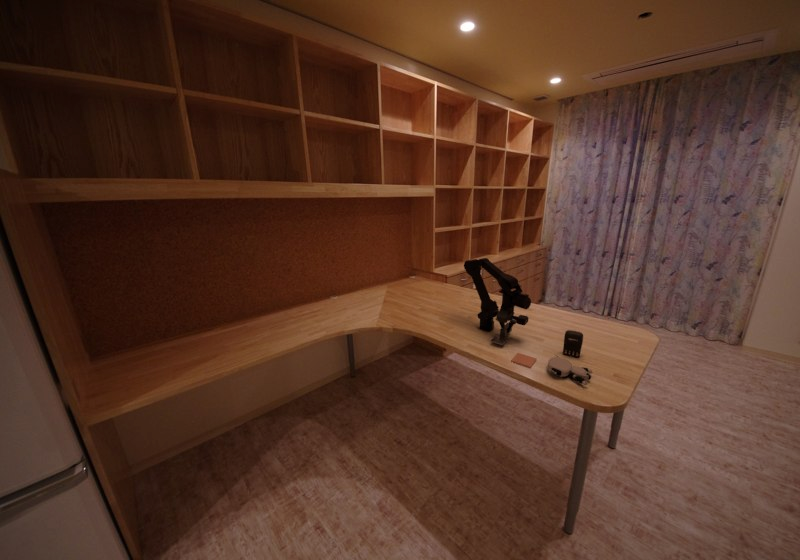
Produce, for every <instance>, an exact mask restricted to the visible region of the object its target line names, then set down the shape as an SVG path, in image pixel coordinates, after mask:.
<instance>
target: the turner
mask: <svg viewBox="0 0 800 560" xmlns="http://www.w3.org/2000/svg"><path fill="white" fill-rule="evenodd" d="M508 327H509V322H507V323H505V326H503V327H502V328H501V327H500V329H499V334H498V335H497V334H496V335H494V336H493V337H492V338H491V339H490V341H489V342H490V343H493V344H498V345H501V346H503V345H505V344H506V343H507V341H509V338H508V336H509V334H510V333H512V330H513V328H512V329H511V331H510V332H509V333H508Z"/></svg>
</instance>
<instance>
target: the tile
mask: <svg viewBox="0 0 800 560" xmlns="http://www.w3.org/2000/svg"><path fill="white" fill-rule="evenodd" d="M536 361H537V357H533V356H529V355H526V354H523V353H521V352H517V353H516V354H515V355H514V356H513V357H512V358H511V360H510V362H511V363H512V362H513V364H515V363H516V364H515V365H519V366H522V367H525V368H527V369H532V367H533V366H534V364H535V363H536Z"/></svg>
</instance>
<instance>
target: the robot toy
mask: <svg viewBox="0 0 800 560" xmlns="http://www.w3.org/2000/svg"><path fill="white" fill-rule="evenodd" d="M545 368H546V369H547V370H548V372H549V373H551V374H553V375H555V376H558V377H561V378H562V377H567V376H569V377H570V378H572V379H574V380H575V381H576V382H578V383H579V384H580V385H582V384H583V386H587V385H588V381H590V380H591V379H592V377H591V375H590V374H593V373H594V371H593V370H591V369H589V368H588V367H580V366H577V365H574V366H573V363H572V362H571V361H570V360H569V359H566V358H563V357H560V356H558V355H557V354H554V357H551V358H550V359H549V360H548V362H547V366H545Z"/></svg>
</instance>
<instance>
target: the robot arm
mask: <svg viewBox="0 0 800 560" xmlns="http://www.w3.org/2000/svg"><path fill="white" fill-rule="evenodd" d="M463 268H464V271H465V272H466V274H468V275H469V277H471V280H472V282H473V284H474V287H475V290H476V292H477V294H478V297H479V299H480V302H481V303H480V312H478V313H477V318H478V319H479V326H478V330H482V331H486V332H491V331H492V330H493V329H494V328H495V321H497V322H498V323H499V325H500V329H501V328H502V327H503V326H505V325H506V324H507V323H509V327H508V333H509V332H510V331H511V329H512V330H513V326H515V325H516V324H517V325H520V326H526V325H527V324H528V323H529V320H530V319H529V317H528V316H527V315H523V314H520V315H518V316H517V315H515V307H517V308H520V309H523V310H528V309H530V306H531V304H532V300H531V297H530V295H529V294H526V293H524V292H523V289H522V287H521V285H520V283H519V280H518V279H517V278H516V277H515V276H513V275H511V274H509V273H505V272H504V271H503V270H501V269H500V268H499V267H497V265H495V264H494V263H493V262H491V260H489V258H488V257H483V258H479V259H477V258H474V259H473V258H472V259H469V260H468V259H467V260H465V262H464V263H463ZM482 269H483V270H485V271H486V272H487V273H488V274H489V275H490V276H492V277H493V278H494V279H495V280H496V281H497V284H498V286H499V287H500V288H501V289H500V290H498V293H501V295H502V297H501V300H502V301H501V305H500V309H499V306H498V303H497V301H496V300H492V299H491V297H490V294H489V292H488V289H487V287H486V284H485V281H484V280H483V276H482V274H481V272H482ZM494 319H495V321H494ZM511 332H512V331H511ZM511 332H510V333H511ZM510 333H509V334H510Z"/></svg>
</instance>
